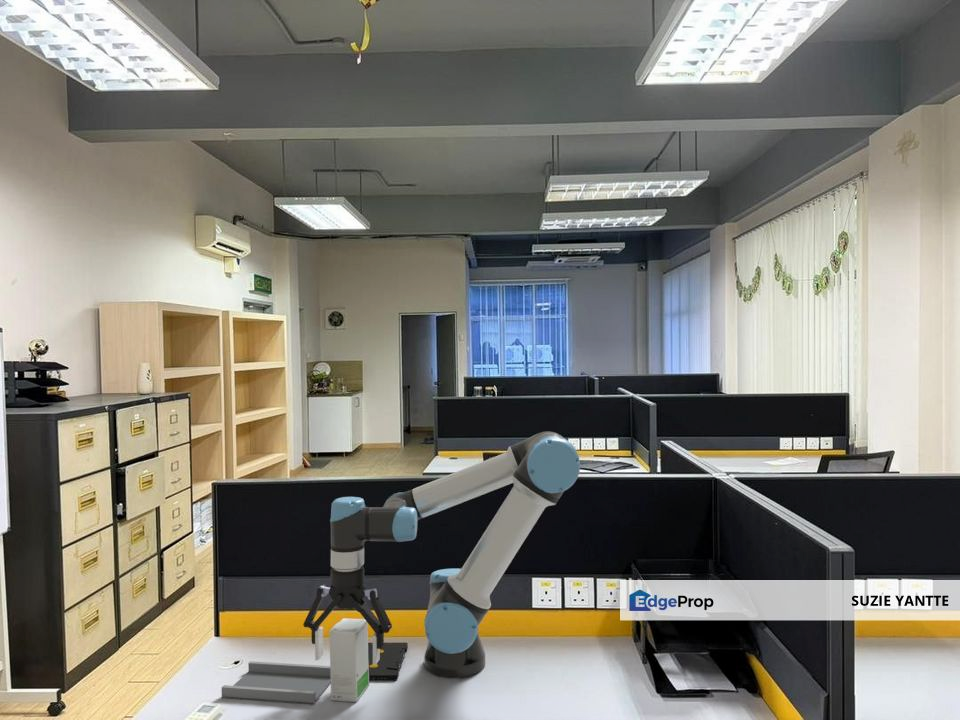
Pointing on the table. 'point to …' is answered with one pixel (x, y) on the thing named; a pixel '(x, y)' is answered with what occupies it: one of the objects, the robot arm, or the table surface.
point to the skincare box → (349, 659)
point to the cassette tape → (386, 661)
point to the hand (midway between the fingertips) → (347, 660)
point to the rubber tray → (280, 683)
